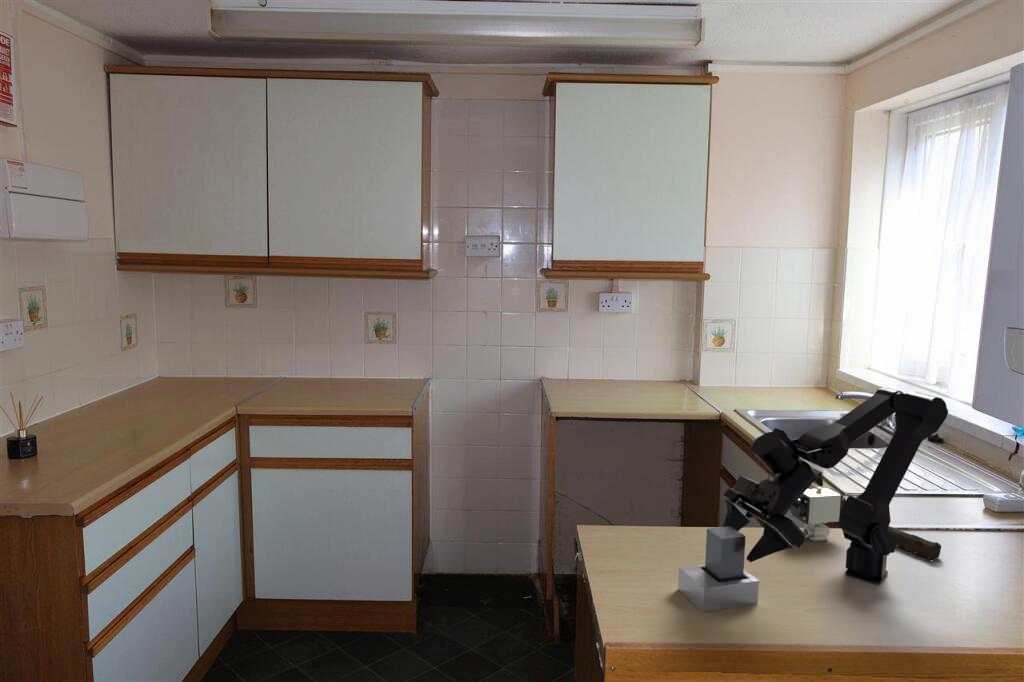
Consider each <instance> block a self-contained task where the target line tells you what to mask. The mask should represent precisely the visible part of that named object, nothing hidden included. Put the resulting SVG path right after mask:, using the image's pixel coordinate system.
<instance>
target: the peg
mask: <svg viewBox="0 0 1024 682" xmlns="http://www.w3.org/2000/svg"><path fill="white" fill-rule="evenodd" d="M705 541H706V543H705V558H704V559H705V561H704V564H705V572H706V573H707V574H708V575H710V576H711V577H712V578H713V579H715V580H716V581H717V582H718V583H721V582H728V581H735V580H742V579H743V573H744V570H745V553H746V552H745V551H746V549H745V548H746V535H744V534H743V533H741V532H740V531H737V530H735V529H734V528H732V527H731V526H726V527H723V526H719V527H711V528H710V527H709V528H706V539H705Z"/></svg>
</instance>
